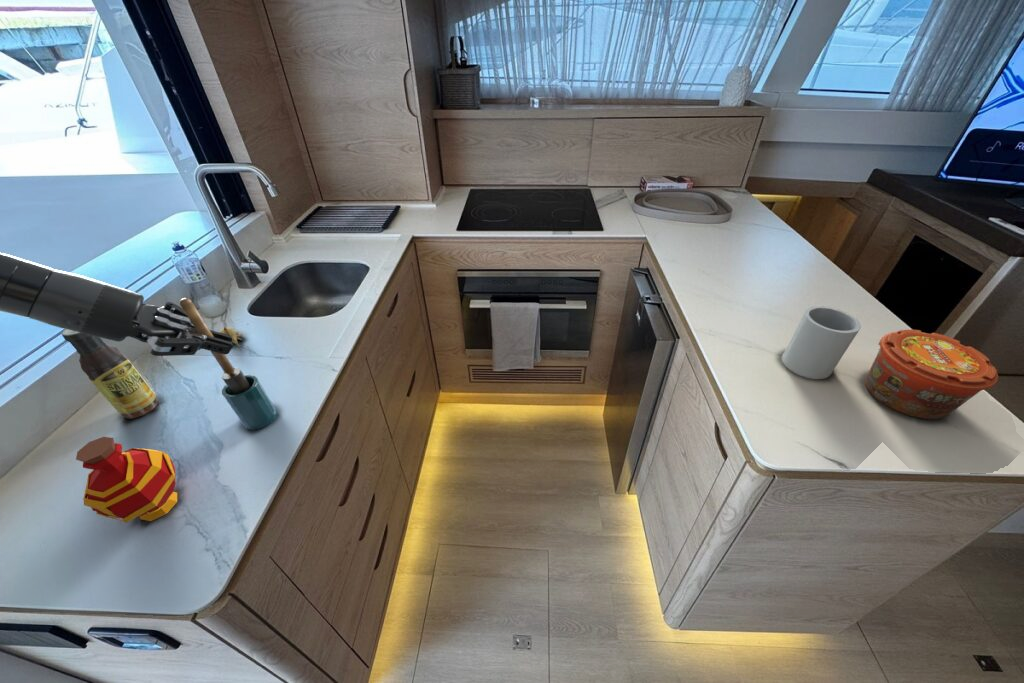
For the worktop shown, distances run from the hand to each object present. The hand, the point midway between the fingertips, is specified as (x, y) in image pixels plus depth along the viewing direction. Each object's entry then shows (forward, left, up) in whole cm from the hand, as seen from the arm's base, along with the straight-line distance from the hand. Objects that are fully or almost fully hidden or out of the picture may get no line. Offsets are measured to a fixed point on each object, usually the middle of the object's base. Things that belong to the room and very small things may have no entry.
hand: (230, 345), depth 67 cm
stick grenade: (0, +2, -11) cm, 12 cm away
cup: (-46, -102, -18) cm, 113 cm away
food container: (-61, -109, -18) cm, 126 cm away
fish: (+31, +6, -18) cm, 36 cm away
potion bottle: (-12, +17, -18) cm, 28 cm away
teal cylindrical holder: (0, +2, -18) cm, 18 cm away
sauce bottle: (+16, +23, -18) cm, 33 cm away
